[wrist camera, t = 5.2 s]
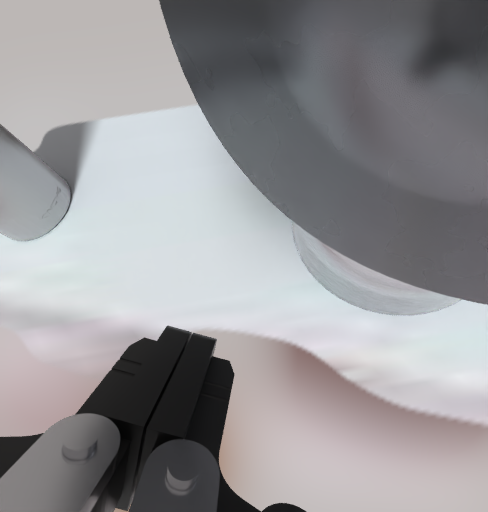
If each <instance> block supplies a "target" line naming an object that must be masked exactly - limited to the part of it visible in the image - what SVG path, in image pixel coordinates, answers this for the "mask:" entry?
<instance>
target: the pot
mask: <svg viewBox="0 0 488 512" xmlns="http://www.w3.org/2000/svg"><path fill="white" fill-rule="evenodd" d="M292 230H293V237H294V241H295V245H296V248H297V251H298V253H299V255H300V257H301V259H302V261H303V263H304V264H305V266H306V267H307V269H308V271H309V272H310V273H311V274H312V275H313V276H314V278H315V279H316V280H317V281H318V282H319V283H320V284H321V285H322V286H324V287H325V288H326V289H327V290H328V291H330V292H331V293H333V294H334V295H335V296H337V297H338V298H340V299H342V300H344V301H346V302H348V303H350V304H352V305H354V306H357V307H359V308H362V309H365V310H369V311H372V312H376V313H381V314H389V315H418V314H425V313H430V312H434V311H438V310H441V309H443V308H446V307H448V306H451V305H453V304H455V303H457V302H458V301H460V300H462V299H459V298H454V297H450V296H446V295H442V294H439V293H435V292H432V291H428V290H425V289H422V288H418V287H415V286H412V285H410V284H407V283H404V282H401V281H399V280H396V279H393V278H390V277H388V276H386V275H383V274H381V273H379V272H376V271H374V270H372V269H370V268H367V267H365V266H363V265H361V264H359V263H357V262H355V261H353V260H352V259H350V258H348V257H346V256H344V255H342V254H340V253H339V252H337V251H335V250H334V249H332V248H330V247H329V246H327V245H325V244H324V243H322V242H321V241H319V240H318V239H316V238H315V237H314V236H312V235H311V234H309V233H308V232H306V231H305V230H304V229H302V228H301V227H300V226H298V225H297V224H296V223H295V222H293V221H292Z"/></svg>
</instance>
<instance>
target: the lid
mask: <svg viewBox="0 0 488 512" xmlns="http://www.w3.org/2000/svg"><path fill="white" fill-rule="evenodd" d="M159 1H160V5H161V9H162V12H163V15H164V19H165V22H166V25H167V28H168V31H169V34H170V38H171V41H172V44H173V47H174V49H175V52H176V54H177V57H178V59H179V62H180V65H181V67H182V70H183V72H184V75H185V77H186V79H187V81H188V83H189V85H190V88H191V90H192V92H193V94H194V96H195V98H196V101H197V102H198V104H199V106H200V108H201V110H202V112H203V113H204V115H205V117H206V119H207V121H208V122H209V124H210V126H211V127H212V129H213V131H214V132H215V134H216V135H217V137H218V138H219V140H220V141H221V143H222V145H223V146H224V148H225V149H226V150H227V152H228V153H229V154H230V156H231V157H232V158H233V160H234V161H235V162H236V164H237V165H238V166H239V168H240V169H241V170H242V171H243V172H244V174H245V175H246V176H247V177H248V178H249V179H250V181H251V182H252V183H253V184H254V185H255V186H256V187H257V188H258V189H259V190H260V191H261V192H262V193H263V194H264V195H265V197H266V198H267V199H268V200H269V201H270V202H272V203H273V204H274V205H275V206H276V207H277V208H278V209H279V210H280V211H282V212H283V213H284V214H285V215H286V216H287V217H288V218H290V219H291V220H292V221H293V222H295V223H296V224H297V225H298V226H300V227H301V228H302V229H304V230H305V231H306V232H308V233H309V234H311V235H312V236H314V237H315V238H316V239H318V240H319V241H321V242H322V243H324V244H325V245H327V246H329V247H330V248H332V249H334V250H335V251H337V252H339V253H340V254H342V255H344V256H346V257H348V258H350V259H352V260H353V261H355V262H357V263H359V264H361V265H363V266H365V267H367V268H370V269H372V270H374V271H376V272H379V273H381V274H383V275H386V276H388V277H390V278H393V279H396V280H399V281H401V282H404V283H407V284H410V285H412V286H415V287H418V288H422V289H425V290H428V291H432V292H435V293H439V294H442V295H446V296H450V297H454V298H459V299H463V300H468V301H472V302H477V303H482V304H488V0H159Z"/></svg>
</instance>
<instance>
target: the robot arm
mask: <svg viewBox="0 0 488 512" xmlns="http://www.w3.org/2000/svg"><path fill="white" fill-rule="evenodd" d="M69 203H70V188H69V185H68V184H67V182H66V181H65V180H64V179H63V178H62V177H61V176H60V175H58V174H57V173H56V172H55V171H54V170H53V169H52V168H50V167H49V166H48V165H47V164H46V163H45V162H44V161H42V160H41V159H40V158H39V157H38V156H37V155H36V154H35V153H33V152H32V151H31V150H30V149H29V148H28V147H27V146H25V145H24V144H23V143H22V142H21V141H20V140H18V139H17V138H16V137H15V136H14V135H13V134H11V133H10V132H9V131H8V130H7V129H6V128H5V127H3V126H2V125H1V124H0V233H1V234H3V235H5V236H7V237H9V238H11V239H13V240H17V241H28V240H33V239H36V238H38V237H41V236H43V235H44V234H46V233H48V232H49V231H50V230H51V229H53V228H54V227H55V226H56V225H57V224H58V223H59V222H60V221H61V219H62V218H63V216H64V215H65V213H66V211H67V209H68V206H69ZM216 341H217V339H214V338H211V337H207V336H203V335H200V334H196V333H193V334H192V332H189V331H186V330H182V329H178V328H174V327H171V326H167V327H166V328H165V330H164V331H163V333H162V334H161V336H160V337H159V339H158V340H157V341H155V340H151V339H147V338H143V339H141V340H139V341H137V342H136V343H134V344H132V345H130V346H129V347H128V348H127V350H126V351H125V352H124V354H123V355H122V356H121V357H120V360H118V361H117V362H116V364H115V365H114V366H113V367H112V370H111V371H109V373H108V374H107V375H106V376H105V378H104V379H103V380H102V381H101V383H100V384H99V385H98V387H97V388H96V389H95V391H94V392H93V393H92V394H91V395H90V397H89V398H88V399H87V401H86V402H85V403H84V404H83V406H82V407H81V408H80V409H79V411H78V412H77V413H76V414H75V415H73V416H69V417H67V418H64V419H62V420H60V421H58V422H57V423H55V424H54V425H52V426H51V427H50V428H49V429H48V430H47V431H46V432H45V433H42V434H38V435H32V436H22V437H0V512H113V511H114V510H115V508H118V509H122V510H126V511H128V509H129V507H130V509H129V512H261V511H259V510H258V509H256V508H255V507H253V506H252V505H250V504H249V503H247V502H246V501H245V500H243V499H242V498H240V497H239V496H238V495H237V494H236V493H235V492H234V491H233V490H232V489H231V488H230V487H229V486H228V484H227V483H226V481H225V479H224V478H223V476H222V473H221V470H220V467H219V450H220V445H221V440H222V435H223V430H224V425H225V420H226V414H227V410H228V404H229V399H230V393H231V389H232V384H233V379H234V372H233V369H232V366H231V364H230V361H228V360H224V359H220V358H216V357H213V353H214V350H215V345H216ZM131 502H132V503H131ZM130 504H131V506H130ZM262 512H306V511H305V510H303V509H301V508H300V507H297V506H295V505H291V504H287V503H278V504H273V505H271V506H268V507H267V508H265V509H264V510H263V511H262Z"/></svg>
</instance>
